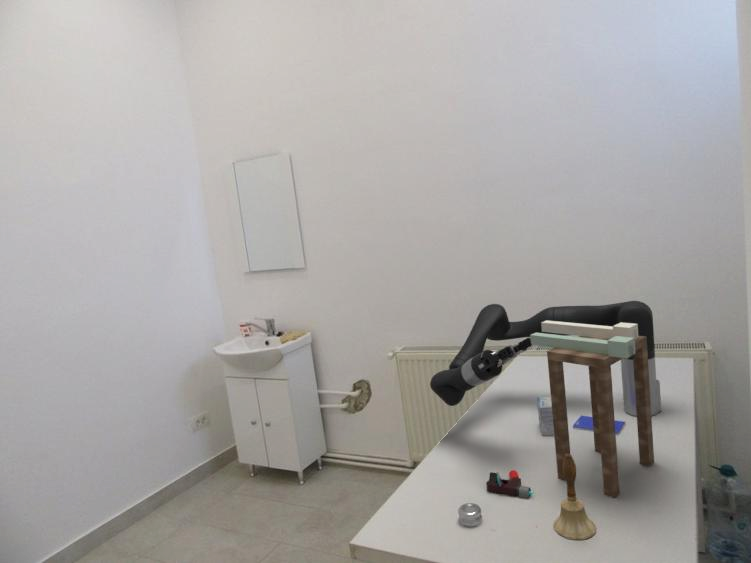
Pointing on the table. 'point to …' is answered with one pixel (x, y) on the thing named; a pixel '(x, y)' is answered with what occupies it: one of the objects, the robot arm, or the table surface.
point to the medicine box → (545, 415)
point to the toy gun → (507, 485)
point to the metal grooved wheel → (470, 515)
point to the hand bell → (573, 509)
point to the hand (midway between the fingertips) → (521, 345)
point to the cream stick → (591, 329)
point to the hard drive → (587, 424)
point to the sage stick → (587, 344)
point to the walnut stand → (601, 407)
